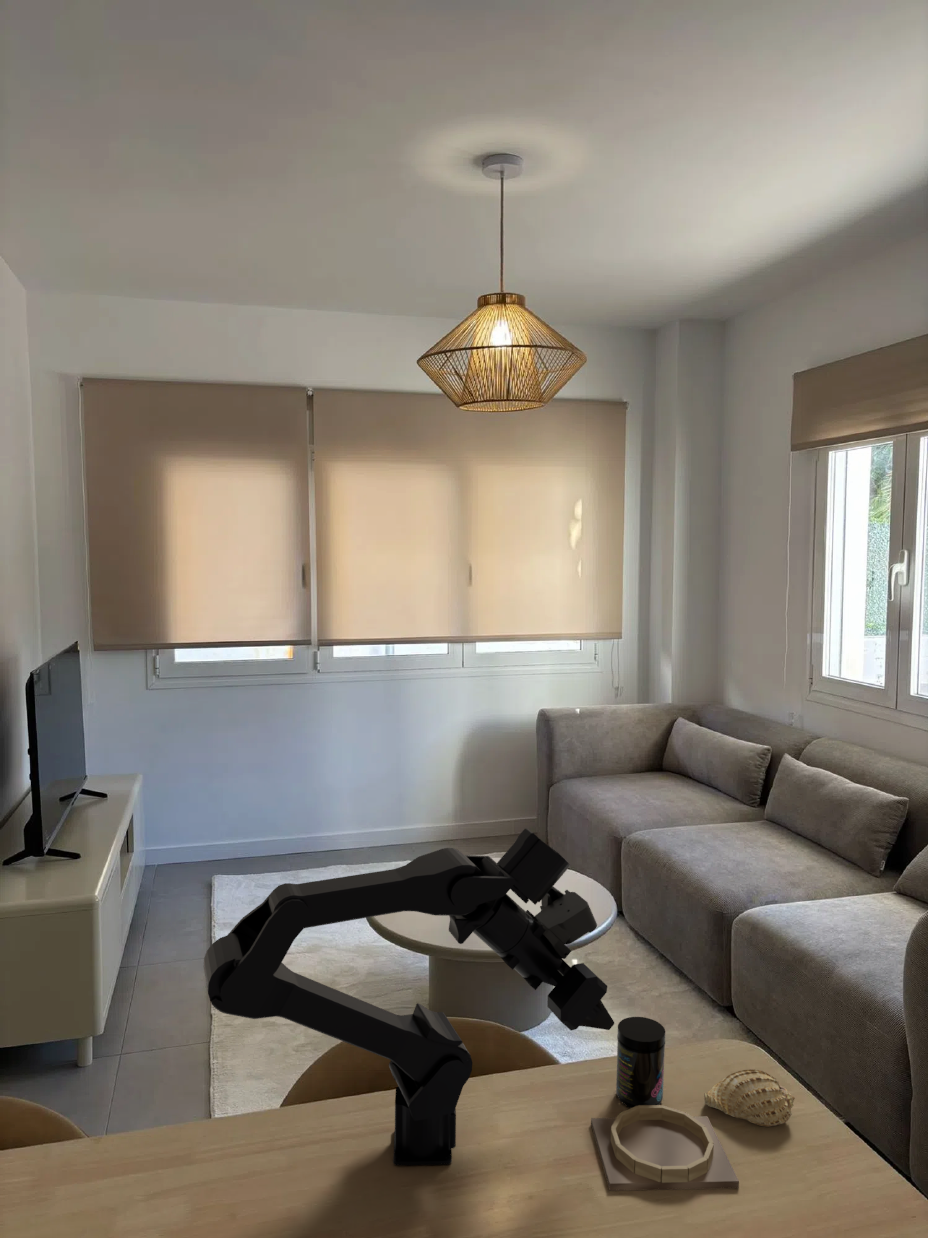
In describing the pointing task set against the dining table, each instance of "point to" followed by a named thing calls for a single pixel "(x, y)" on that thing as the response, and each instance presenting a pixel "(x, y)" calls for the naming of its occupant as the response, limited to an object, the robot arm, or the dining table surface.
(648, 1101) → the supplement container
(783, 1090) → the seashell
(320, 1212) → the dining table surface
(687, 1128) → the collar board
